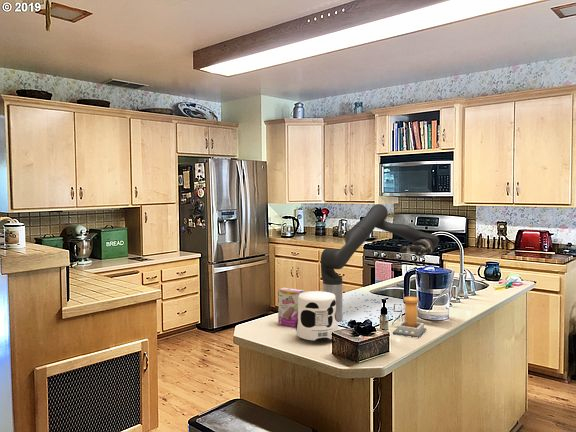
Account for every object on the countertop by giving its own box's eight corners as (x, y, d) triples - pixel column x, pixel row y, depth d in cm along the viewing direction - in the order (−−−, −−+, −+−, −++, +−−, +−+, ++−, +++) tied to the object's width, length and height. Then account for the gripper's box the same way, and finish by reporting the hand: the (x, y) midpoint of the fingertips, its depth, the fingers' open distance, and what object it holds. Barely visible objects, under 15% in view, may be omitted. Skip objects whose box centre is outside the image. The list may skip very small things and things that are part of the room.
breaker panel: (392, 334, 199) (392, 327, 198) (401, 326, 209) (401, 320, 209) (418, 338, 193) (418, 331, 193) (426, 330, 203) (426, 323, 203)
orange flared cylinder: (401, 329, 201) (402, 298, 200) (405, 326, 206) (406, 295, 205) (415, 332, 198) (416, 300, 197) (419, 328, 203) (420, 297, 202)
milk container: (312, 329, 206) (312, 288, 205) (346, 337, 195) (346, 294, 194) (287, 339, 193) (287, 296, 191) (321, 348, 182) (321, 302, 180)
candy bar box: (277, 325, 212) (277, 289, 211) (283, 322, 217) (283, 287, 215) (299, 328, 207) (299, 292, 205) (304, 325, 211) (304, 289, 210)
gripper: (406, 239, 235) (396, 242, 222) (435, 240, 228) (427, 244, 214) (406, 253, 236) (396, 258, 222) (435, 256, 229) (427, 260, 215)
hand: (411, 251), depth 218 cm, fingers open, 8 cm apart
